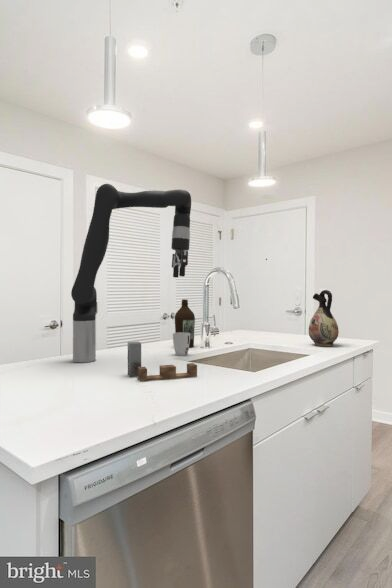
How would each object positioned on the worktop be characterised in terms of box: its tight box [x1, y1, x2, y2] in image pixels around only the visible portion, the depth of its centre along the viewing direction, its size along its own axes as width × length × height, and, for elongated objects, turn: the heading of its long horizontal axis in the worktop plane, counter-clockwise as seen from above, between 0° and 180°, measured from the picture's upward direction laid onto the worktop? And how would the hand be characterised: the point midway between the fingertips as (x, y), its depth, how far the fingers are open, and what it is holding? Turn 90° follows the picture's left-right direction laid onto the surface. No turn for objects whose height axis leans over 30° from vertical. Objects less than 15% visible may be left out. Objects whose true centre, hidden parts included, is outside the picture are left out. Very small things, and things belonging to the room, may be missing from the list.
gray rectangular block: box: [127, 341, 142, 378], centre depth 135 cm, size 4×4×12 cm
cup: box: [172, 332, 190, 357], centre depth 177 cm, size 8×8×10 cm
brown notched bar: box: [137, 362, 198, 382], centre depth 131 cm, size 20×4×4 cm, turn 110°
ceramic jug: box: [308, 289, 339, 347], centre depth 205 cm, size 17×15×30 cm
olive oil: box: [174, 298, 196, 349], centre depth 200 cm, size 11×11×25 cm
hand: (178, 276), depth 160 cm, fingers open, 8 cm apart
